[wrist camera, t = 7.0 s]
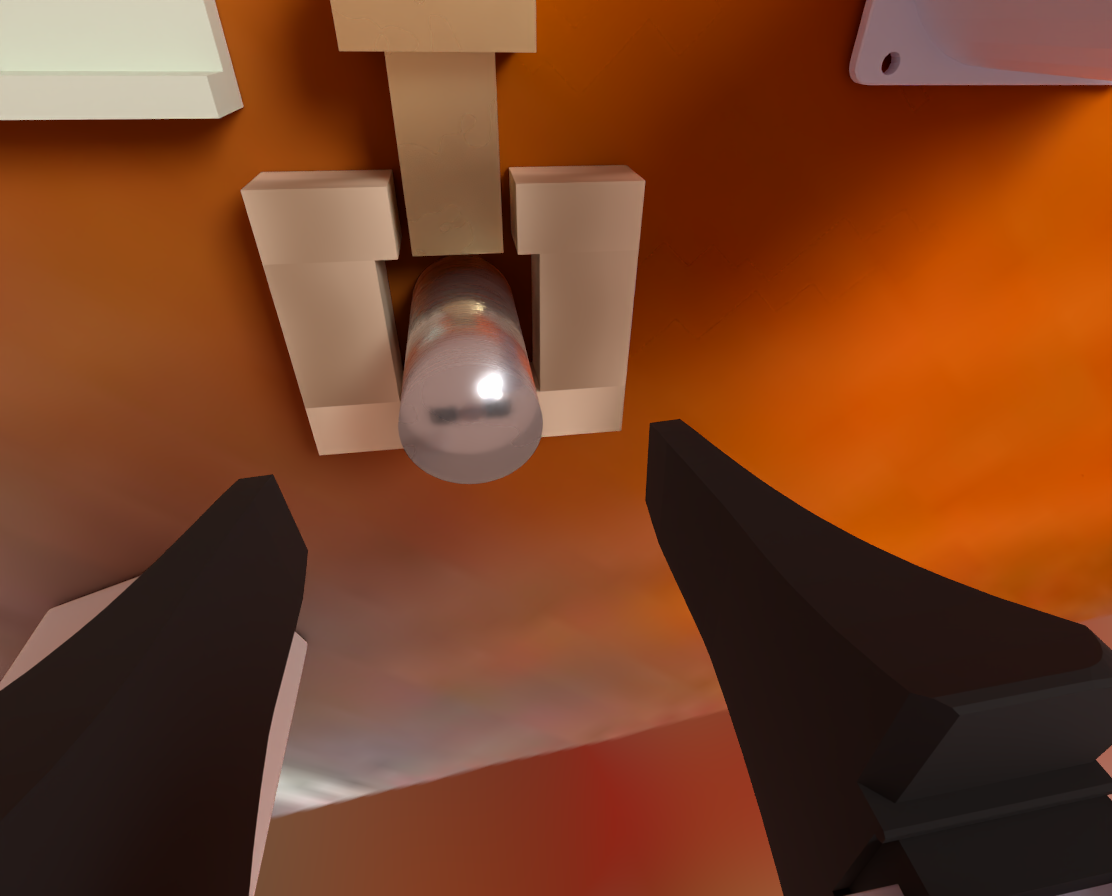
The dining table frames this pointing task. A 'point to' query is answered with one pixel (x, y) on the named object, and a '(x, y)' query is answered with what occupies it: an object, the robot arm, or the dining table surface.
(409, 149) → the block
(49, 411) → the dining table surface
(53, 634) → the milk carton
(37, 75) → the pad
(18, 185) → the dining table surface
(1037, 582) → the dining table surface
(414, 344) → the peg
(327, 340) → the socket block
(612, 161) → the dining table surface
